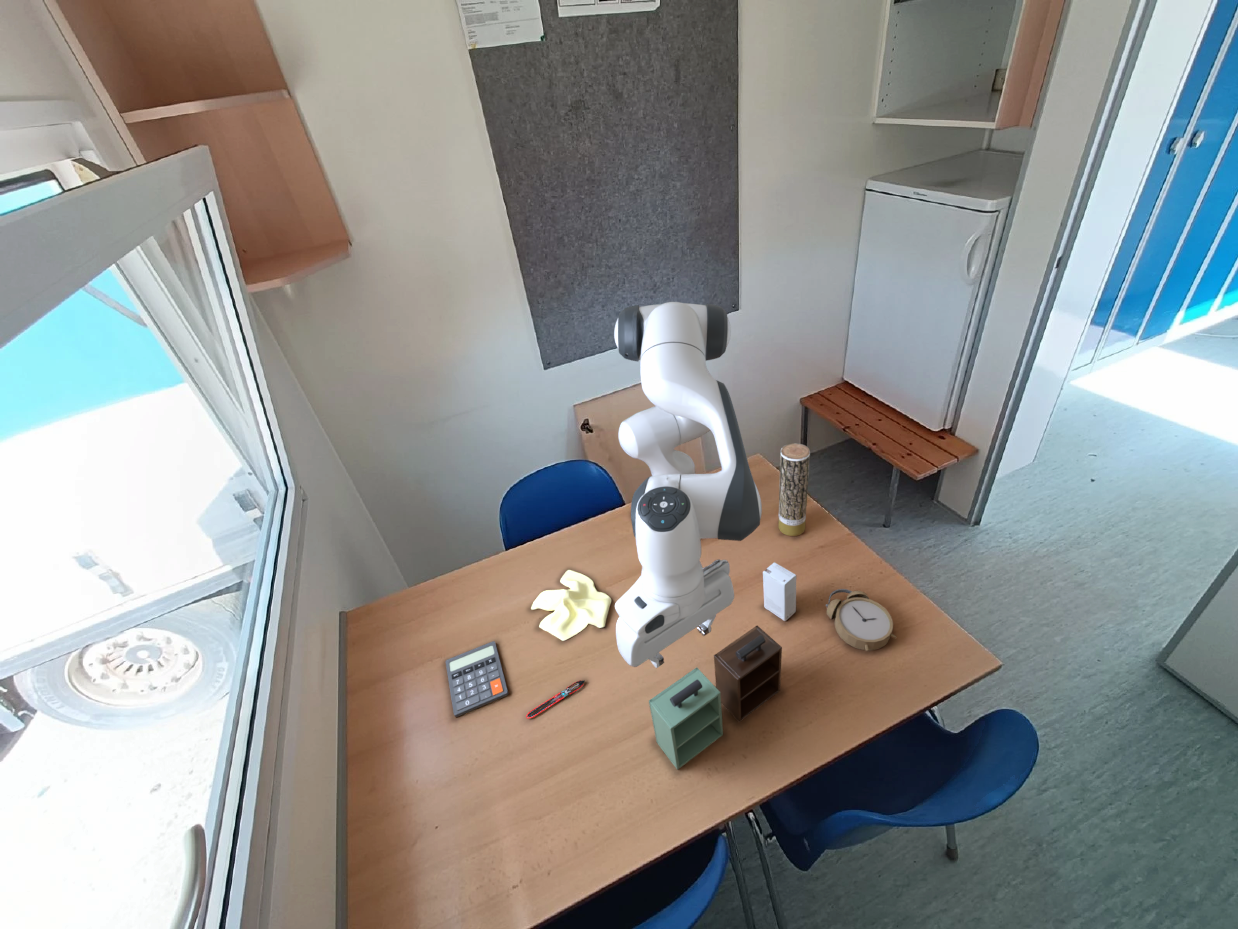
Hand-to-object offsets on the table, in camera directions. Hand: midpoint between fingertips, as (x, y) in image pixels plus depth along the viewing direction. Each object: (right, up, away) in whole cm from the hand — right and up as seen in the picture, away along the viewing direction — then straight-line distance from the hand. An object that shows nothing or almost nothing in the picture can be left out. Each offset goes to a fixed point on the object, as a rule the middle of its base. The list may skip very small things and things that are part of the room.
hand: (681, 647), depth 90 cm
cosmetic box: (+27, -4, +39) cm, 47 cm away
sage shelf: (+1, -15, +15) cm, 21 cm away
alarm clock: (+42, -6, +33) cm, 54 cm away
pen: (-23, -20, +28) cm, 42 cm away
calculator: (-42, -18, +35) cm, 58 cm away
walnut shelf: (+13, -9, +21) cm, 26 cm away
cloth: (-22, -5, +49) cm, 54 cm away
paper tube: (+36, +12, +59) cm, 70 cm away
